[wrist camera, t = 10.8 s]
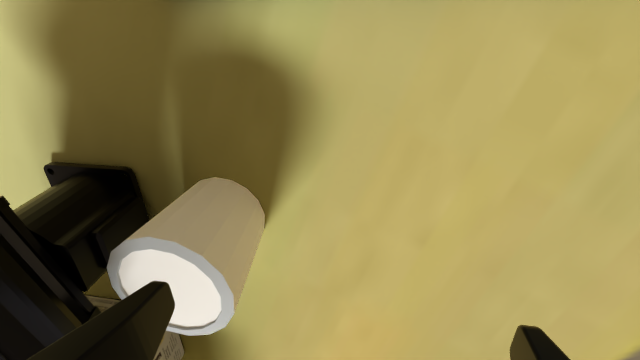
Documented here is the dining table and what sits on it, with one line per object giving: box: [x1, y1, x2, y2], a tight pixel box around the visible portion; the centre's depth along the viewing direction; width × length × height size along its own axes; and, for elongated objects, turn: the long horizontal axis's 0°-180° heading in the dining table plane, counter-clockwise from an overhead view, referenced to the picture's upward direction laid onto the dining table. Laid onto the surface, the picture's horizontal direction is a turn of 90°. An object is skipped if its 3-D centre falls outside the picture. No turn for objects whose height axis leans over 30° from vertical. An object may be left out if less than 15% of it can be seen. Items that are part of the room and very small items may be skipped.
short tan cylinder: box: [107, 177, 265, 336], centre depth 21 cm, size 7×7×7 cm
